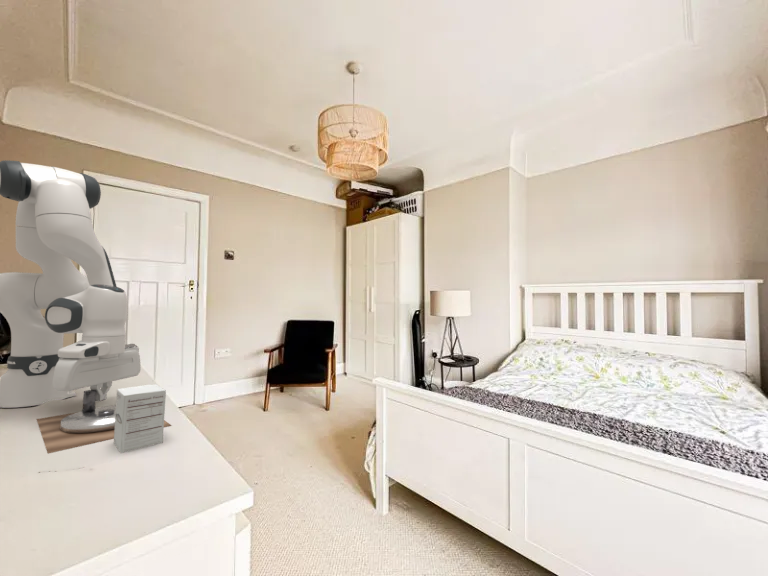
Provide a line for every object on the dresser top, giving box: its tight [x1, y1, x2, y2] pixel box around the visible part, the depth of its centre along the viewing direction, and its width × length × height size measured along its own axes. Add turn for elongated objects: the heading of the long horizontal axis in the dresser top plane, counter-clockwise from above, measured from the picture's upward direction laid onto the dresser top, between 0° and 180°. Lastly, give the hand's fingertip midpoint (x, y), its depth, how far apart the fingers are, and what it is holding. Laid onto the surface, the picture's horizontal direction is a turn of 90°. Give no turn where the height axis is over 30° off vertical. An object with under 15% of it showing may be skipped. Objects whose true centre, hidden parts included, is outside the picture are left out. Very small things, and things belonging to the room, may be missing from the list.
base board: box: [36, 411, 173, 454], centre depth 81 cm, size 28×21×2 cm
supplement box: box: [113, 383, 167, 454], centre depth 70 cm, size 7×7×13 cm
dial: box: [60, 389, 116, 433], centre depth 81 cm, size 18×16×6 cm
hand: (100, 400), depth 86 cm, fingers closed
